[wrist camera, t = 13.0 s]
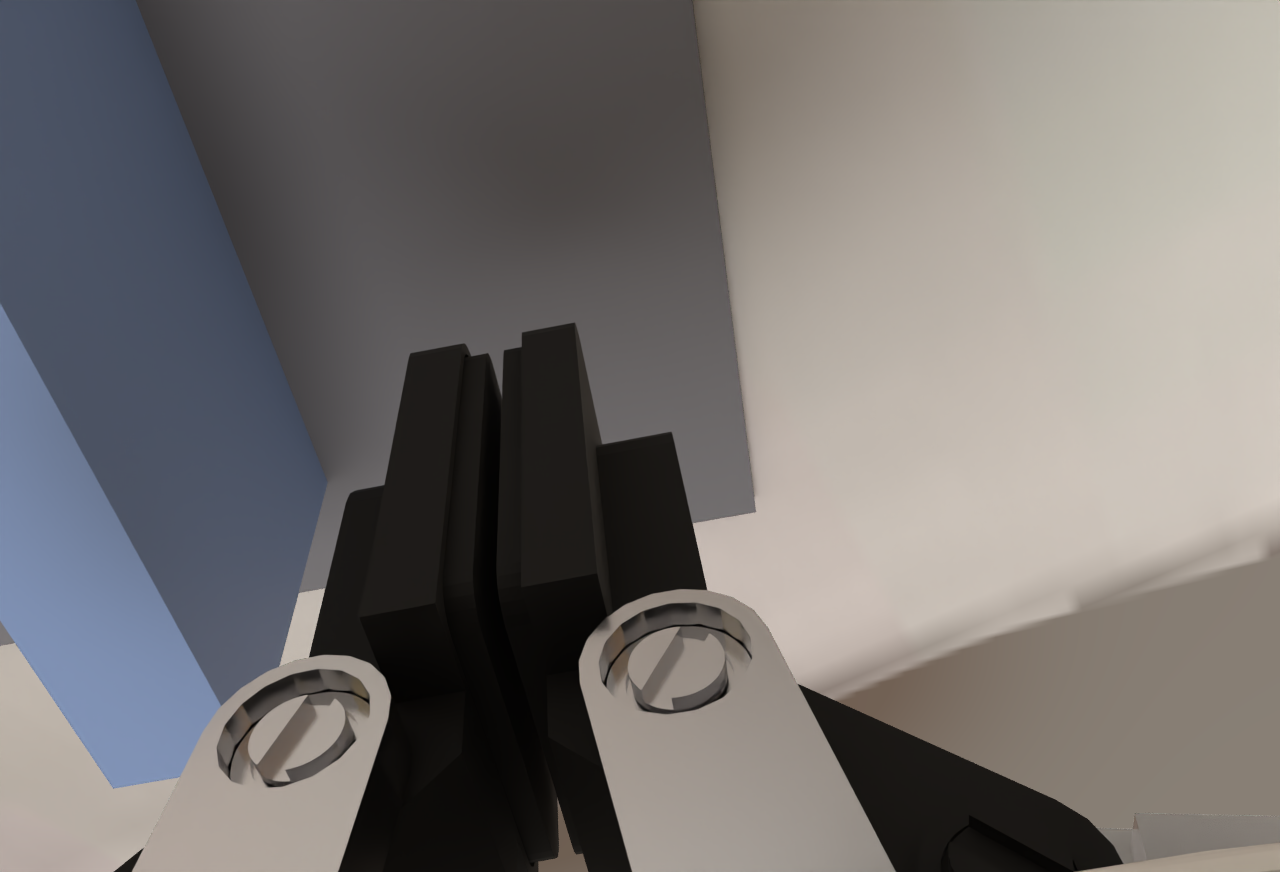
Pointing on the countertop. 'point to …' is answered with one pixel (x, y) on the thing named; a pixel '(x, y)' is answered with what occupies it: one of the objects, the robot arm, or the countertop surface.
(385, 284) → the mat
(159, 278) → the card box
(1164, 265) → the countertop surface
